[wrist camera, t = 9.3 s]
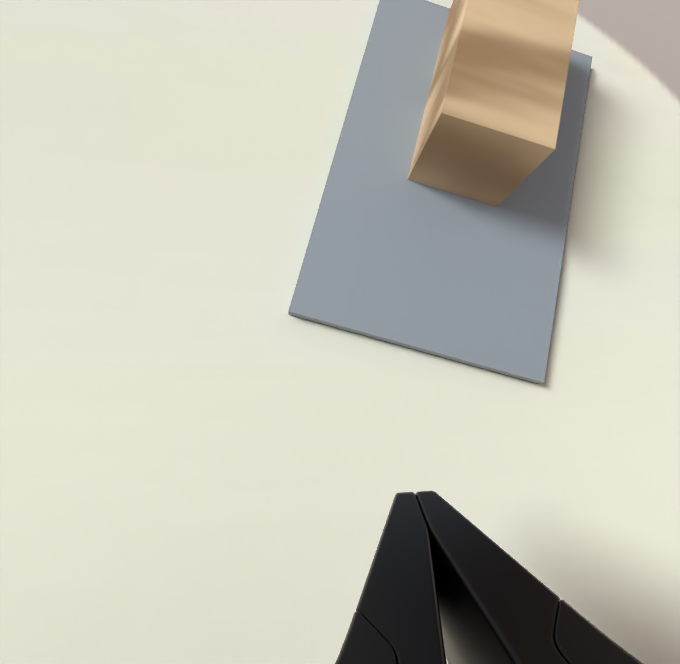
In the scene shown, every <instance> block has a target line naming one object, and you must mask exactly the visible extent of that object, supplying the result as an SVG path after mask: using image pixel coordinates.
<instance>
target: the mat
mask: <svg viewBox="0 0 680 664" xmlns="http://www.w3.org/2000/svg"><path fill="white" fill-rule="evenodd" d="M449 11H450V9H449V8H446V7H443V6H440V5H437V4H434V3H431V2H428V1H426V0H380V1H379V5H378V8H377V12H376V15H375V18H374V22H373V25H372V29H371V32H370V35H369V39H368V42H367V46H366V49H365V53H364V56H363V59H362V63H361V66H360V70H359V73H358V76H357V80H356V83H355V87H354V90H353V93H352V97H351V100H350V104H349V107H348V110H347V114H346V117H345V121H344V124H343V127H342V131H341V134H340V138H339V141H338V145H337V148H336V151H335V155H334V158H333V162H332V165H331V168H330V172H329V175H328V179H327V182H326V185H325V189H324V192H323V196H322V199H321V202H320V206H319V209H318V213H317V216H316V220H315V223H314V226H313V230H312V233H311V237H310V240H309V243H308V247H307V250H306V254H305V257H304V260H303V264H302V267H301V271H300V274H299V277H298V281H297V284H296V288H295V291H294V294H293V298H292V301H291V305H290V308H289V314H290V315H293V316H297V317H300V318H304V319H307V320H311V321H315V322H318V323H322V324H325V325H329V326H333V327H336V328H340V329H343V330H347V331H351V332H354V333H358V334H361V335H365V336H368V337H372V338H376V339H379V340H383V341H386V342H390V343H394V344H397V345H401V346H404V347H408V348H412V349H415V350H419V351H422V352H426V353H429V354H433V355H437V356H440V357H444V358H447V359H451V360H455V361H458V362H462V363H465V364H469V365H472V366H476V367H480V368H483V369H487V370H490V371H494V372H498V373H501V374H505V375H508V376H512V377H516V378H519V379H523V380H526V381H530V382H533V383H544V380H545V374H546V367H547V360H548V353H549V346H550V340H551V333H552V326H553V319H554V313H555V306H556V299H557V292H558V285H559V279H560V272H561V265H562V258H563V252H564V245H565V238H566V231H567V224H568V218H569V211H570V204H571V197H572V190H573V184H574V177H575V170H576V163H577V157H578V150H579V143H580V136H581V129H582V123H583V116H584V109H585V102H586V95H587V89H588V82H589V75H590V68H591V62H592V57H591V56H588V55H585V54H582V53H579V52H577V51H574V50H571V55H570V61H569V67H568V73H567V79H566V86H565V92H564V98H563V104H562V110H561V117H560V123H559V129H558V135H557V141H556V147H555V150H554V151H553V152H552V153H551V154H550V155H549V156H548V157H547V158H546V159H545V160H544V161H543V162H542V163H541V164H540V165H539V166H538V167H537V168H536V169H535V170H534V171H533V172H532V173H531V174H530V175H529V176H528V177H527V178H526V179H525V180H524V181H523V182H522V183H521V184H520V185H519V186H518V187H517V188H516V189H515V190H514V191H513V192H512V193H511V194H510V195H509V196H508V197H507V198H506V199H505V200H504V201H503V202H502V203H501V204H500V205H498V206H497V207H496V206H492V205H489V204H486V203H483V202H479V201H476V200H473V199H470V198H466V197H463V196H460V195H456V194H453V193H450V192H447V191H443V190H440V189H437V188H434V187H430V186H427V185H424V184H421V183H417V182H414V181H411V180H408V175H409V171H410V167H411V163H412V159H413V155H414V151H415V147H416V143H417V139H418V134H419V130H420V126H421V122H422V118H423V114H424V110H425V106H426V102H427V98H428V94H429V90H430V86H431V82H432V78H433V74H434V69H435V65H436V61H437V57H438V53H439V49H440V45H441V41H442V37H443V33H444V29H445V25H446V21H447V17H448V13H449Z"/></svg>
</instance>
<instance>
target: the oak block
mask: <svg viewBox="0 0 680 664" xmlns="http://www.w3.org/2000/svg"><path fill="white" fill-rule="evenodd" d="M578 4H579V0H454V1H453V3H452V6H451V8H450V11H449V13H448V17H447V21H446V25H445V29H444V33H443V37H442V41H441V45H440V49H439V53H438V57H437V61H436V65H435V69H434V74H433V78H432V82H431V86H430V90H429V94H428V98H427V102H426V106H425V110H424V114H423V118H422V122H421V126H420V130H419V134H418V139H417V143H416V147H415V151H414V155H413V159H412V163H411V167H410V171H409V175H408V180H411V181H414V182H417V183H421V184H424V185H427V186H430V187H434V188H437V189H440V190H443V191H447V192H450V193H453V194H456V195H460V196H463V197H466V198H470V199H473V200H476V201H479V202H483V203H486V204H489V205H492V206H496V207H497V206H498V205H500V204H501V203H502V202H503V201H504V200H505V199H506V198H507V197H508V196H509V195H510V194H511V193H512V192H513V191H514V190H515V189H516V188H517V187H518V186H519V185H520V184H521V183H522V182H523V181H524V180H525V179H526V178H527V177H528V176H529V175H530V174H531V173H532V172H533V171H534V170H535V169H536V168H537V167H538V166H539V165H540V164H541V163H542V162H543V161H544V160H545V159H546V158H547V157H548V156H549V155H550V154H551V153H552V152H553V151H554V150H555V147H556V141H557V135H558V129H559V123H560V117H561V110H562V104H563V98H564V92H565V86H566V79H567V73H568V67H569V61H570V55H571V48H572V42H573V36H574V30H575V24H576V17H577V11H578Z"/></svg>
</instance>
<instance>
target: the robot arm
mask: <svg viewBox="0 0 680 664" xmlns="http://www.w3.org/2000/svg"><path fill="white" fill-rule="evenodd" d="M445 654H446V656H445ZM446 657H447V660H448V664H643V663H641V662H640V661H639V660H637V659H636V658H635V657H633V656H632V655H631V654H629V653H628V652H627V651H626V650H624V649H623V648H622V647H620V646H619V645H618V644H616V643H615V642H614V641H612V640H611V639H610V638H609V637H607V636H606V635H605V634H604V633H602V632H601V631H600V630H599V629H597V628H596V627H595V626H594V625H593V624H591V623H590V622H589V621H588V620H586V619H585V618H584V617H583V616H581V615H580V614H579V613H578V612H577V611H576V610H574V609H573V608H572V607H571V606H570V605H569V604H567V603H566V602H565V601H564V600H560V599H559V597H558V596H557V595H556V594H555V593H553V592H552V591H551V590H550V589H549V588H547V587H546V586H545V585H544V584H543V583H542V582H540V581H539V580H538V579H537V578H536V577H535V576H533V575H532V574H531V573H530V572H529V571H528V570H526V569H525V568H524V567H523V566H522V565H520V564H519V563H518V562H517V561H516V560H515V559H513V558H512V557H511V556H510V555H509V554H508V553H506V552H505V551H504V550H503V549H502V548H500V547H499V546H498V545H497V544H496V543H495V542H493V541H492V540H491V539H490V538H489V537H488V536H486V535H485V534H484V533H483V532H482V531H480V530H479V529H478V528H477V527H476V526H475V525H473V524H472V523H471V522H470V521H469V520H468V519H466V518H465V517H464V516H463V515H462V514H460V513H459V512H458V511H457V510H456V509H455V508H453V507H452V506H451V505H450V504H449V503H448V502H446V501H445V500H444V499H443V498H442V497H440V496H439V495H438V494H437V493H436V492H434V491H421V492H417V493H416V494H414V493H413V492H405V493H397V494H396V495H395V498H394V501H393V503H392V506H391V509H390V512H389V515H388V518H387V521H386V524H385V527H384V530H383V533H382V536H381V538H380V541H379V544H378V547H377V550H376V553H375V556H374V559H373V562H372V565H371V568H370V571H369V573H368V576H367V579H366V582H365V585H364V588H363V591H362V594H361V597H360V600H359V603H358V606H357V608H356V612H355V613H354V616H353V619H352V622H351V624H350V627H349V630H348V633H347V635H346V638H345V641H344V643H343V646H342V648H341V651H340V654H339V656H338V658H337V661H336V663H335V664H447V663H446Z"/></svg>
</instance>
